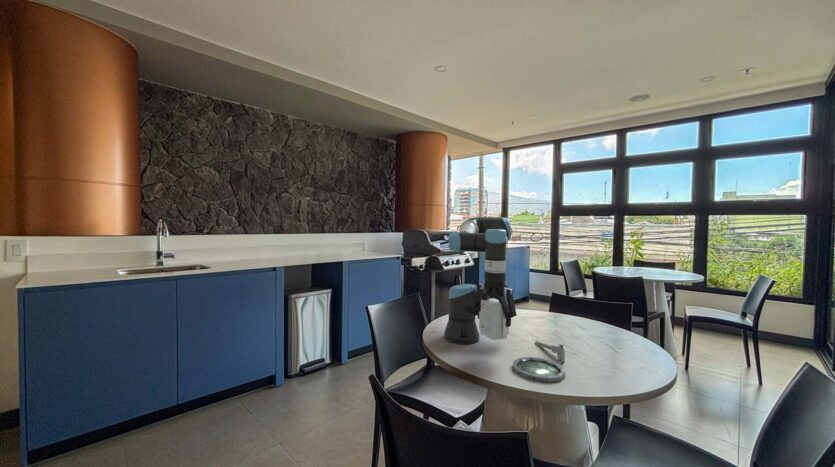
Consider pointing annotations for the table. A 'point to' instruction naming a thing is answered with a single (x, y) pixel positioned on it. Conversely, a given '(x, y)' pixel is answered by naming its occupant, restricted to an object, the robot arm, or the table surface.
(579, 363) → the table surface
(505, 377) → the table surface
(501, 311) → the small box
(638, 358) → the table surface
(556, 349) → the caliper
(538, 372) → the steel bowl
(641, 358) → the table surface
